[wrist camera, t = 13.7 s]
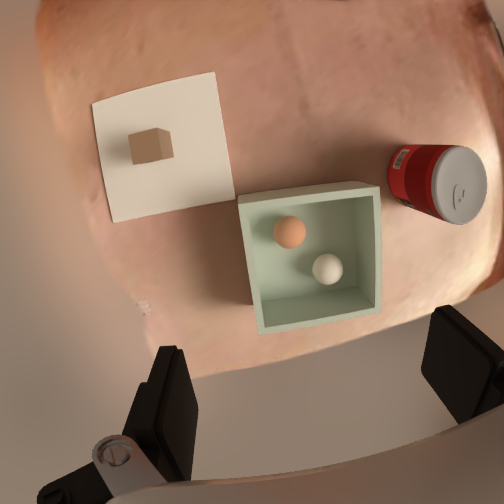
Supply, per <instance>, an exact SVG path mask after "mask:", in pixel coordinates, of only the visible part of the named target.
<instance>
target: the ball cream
mask: <svg viewBox="0 0 504 504" xmlns="http://www.w3.org/2000/svg"><path fill="white" fill-rule="evenodd" d="M312 271H313V275H314V277H315V279H316V280H317V281H318V282H320V283H322V284H325V285H330V284H333V283H336V282H337V281H338V280H339V279H340V278H341V276H342V273H343V265H342V262H341V260H340V259H339V258H338V257H337V256H335V255H333V254H323V255H320V256H319V257H318V258H317V259H316V260H315V261H314V263H313V267H312Z"/></svg>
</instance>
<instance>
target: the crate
mask: <svg viewBox="0 0 504 504" xmlns="http://www.w3.org/2000/svg"><path fill="white" fill-rule="evenodd" d="M238 209H239V215H240V222H241V228H242V235H243V241H244V248H245V254H246V261H247V267H248V273H249V280H250V286H251V292H252V299H253V305H254V311H255V318H256V324H257V330H258V335H262V334H269V333H275V332H281V331H288V330H294V329H300V328H305V327H311V326H316V325H322V324H327V323H332V322H338V321H343V320H348V319H353V318H357V317H362V316H367V315H371V314H376V313H380V312H381V303H382V223H381V202H380V187H379V186H375V185H371V184H367V183H364V182H360V181H356V180H353V181H344V182H334V183H325V184H317V185H308V186H300V187H292V188H285V189H277V190H270V191H263V192H255V193H249V194H242V195H238ZM284 216H294V217H297V218H298V219H300V220H301V221H302V222H303V224H304V226H305V228H306V236H305V239H304V241H303V242H302V243H301V244H300V245H299V246H298V247H296V248H292V249H287V248H283V247H281V246H280V245H278V243H277V242H276V241H275V239H274V236H273V228H274V225H275V223H276V222H277V221H278V220H279V219H280V218H282V217H284ZM323 254H333V255H335V256H337V257H338V258H339V259H340V260H341V262H342V265H343V273H342V276H341V278H340V279H339V280H338V281H337V282H336V283H333V284H330V285H325V284H322V283H320V282H318V281H317V280H316V279H315V277H314V275H313V271H312V267H313V263H314V261H315V260H316V259H317V258H318V257H319V256H320V255H323Z"/></svg>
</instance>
